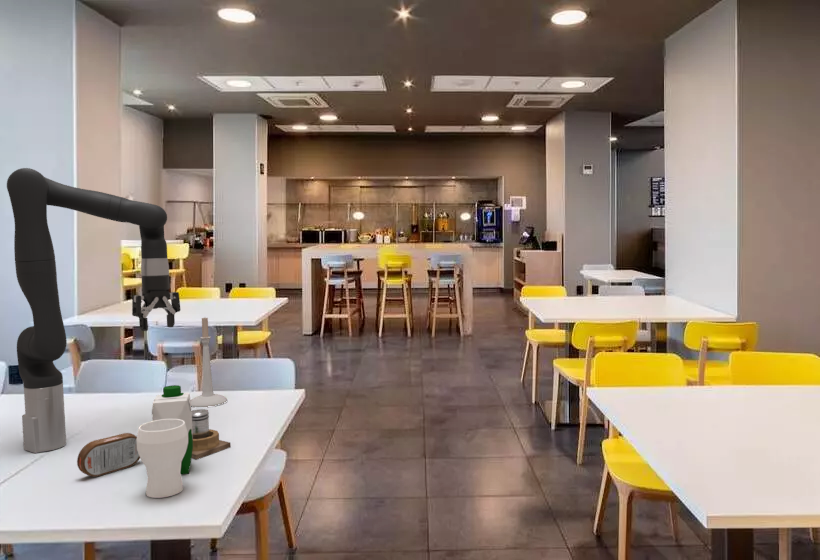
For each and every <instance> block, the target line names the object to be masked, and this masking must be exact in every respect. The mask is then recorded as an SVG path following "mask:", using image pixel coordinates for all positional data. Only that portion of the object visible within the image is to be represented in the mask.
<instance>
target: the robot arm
mask: <svg viewBox="0 0 820 560" xmlns="http://www.w3.org/2000/svg"><path fill="white" fill-rule="evenodd" d="M6 180H7V181H6V189H7V193H8V197H9V200H10V204H11V209H12V213H13V220H14V236H13V237H14V244H13V245H14V265H15V273H16V279H17V283H18V286H19V288H20V289H21V292H22V294H23V295H24V297H25V299H26V301H27V302H28V304H29V307H30V310H31V314H32V320H33V321H32V322H33V323H32V324H33V325H32V326H28V327H26V328H24V329H23V330H22V331H21V332H20V333H19V334H18V335H19V336H17V337H18V338H17V340H16V356H17V365H18V372H19V373H18V374H19V376H20V378H21V380H22V384H23V394H24V395H23V396H24V397H23V399H24V400H23V401H24V414H22V416H21V421H22V439H23V450H25V451H27V452H30V453H34V454H36V453H43V452H50V451H53V450H57V449H60V448H63V447H65V446H66V445H67V434H66V431H67V430H66V415H65V397H64V378H63V373H62V372H61V371H60V370H59V369H58V368H57V367H56V366H55V364H54V361H57V360H59V359H60V358H62V356H63V355H64V354H65V351H66V349H67V342H68V341H67V334H66V330H65V325H64V322H63V321H64V320H63V316H62V311H61V304H60V295H59V289H58V288H59V287H58V276H57V275H58V274H57V265H56V263H57V261H56V255H55V249H54V245H53V239H52V236H51V233H50V229H49V225H48V214H47V212H48V211H47V209H48V207H47V206H53V207H58V208H63V209H67V210H68V209H69V210H72V211H73V210H74V211H75V212H80V213H83V214H86V215H90V216H94V217H97V218H100V219H106V220H110V221H114V222H119V223H128V224H132V225H137V226H138V227H139V232H140V234H139V235H140V240H141V242H140V243H141V245H140V249H141V250H140V253H141V263H140V270H141V271H140V273H141V289H142V295H135V294H134V295H132V302H131V303H132V304H131V306H132V309H131V315H132V317H137V318H139V319H138V320H139V329H140V330H141V331H142V332H147V331H148V330H149V324H148V323H149V321H148V315H149V314H150V312H152V310H156V309H163V310H164V311H165V312H166V313H167V314H166V326H167V327H168V328H174V326H175V323H176V322H175V314H176V313H178V312H180V311H181V302H180V293H179V292H178V291H171V292H170V289H171V287H170V286H171V285H170V282H171V281H170V265H169V259H168V245H167V240H166V238H165V225H166V223H167V221H168V214H167V212H166V210H165V209H164V208H163V207H162V206H160V205H156V204H152V203H149V202H143V201H139V200H131V199H128V198H127V197H121V196H119V195H115V194H111V193H107V192H103V191H98V190H91V189H85V188H80V187H74V186H70V185H67V184H63V183H60V182H57V181H55V180H53V179H49V178H47V177H46V176H44V175H43V174H42V173H41V172H39V171H37V170H35V169H33V168H30V167H22V168H18V169H16V170H14V171H13V172H12V173H11V174H10V175H9V176H8V178H7V179H6ZM169 300H170V301H171V302H170V301H169ZM142 303H143V304H142Z"/></svg>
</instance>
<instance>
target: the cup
mask: <svg viewBox="0 0 820 560" xmlns="http://www.w3.org/2000/svg"><path fill="white" fill-rule="evenodd" d="M136 437H137V439H136V441H137V451H138V454H139V456H140V459H139V460H140V461H141V462H142V464H143V466H144V467H145V471H146V474H147V482H146V490H145V495H146V496H147V497H148V498H152V499H161V498H167V497H171V496H174V495H175V496H176V495H177V494H180V493H181V492H182V491H183V490H184V482H183V479H182V474H181V473H180V472H181V461H182V459H183V457H184V455H185V453H186V450H187V446H188V432H187V428H186V425H185V422H184V421H183V420H180V419H161V420H155V421H153V420H152V421H147V422H144V423H142V424H141V425H140V426H138V430H137V436H136Z"/></svg>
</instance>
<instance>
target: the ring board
mask: <svg viewBox="0 0 820 560" xmlns="http://www.w3.org/2000/svg"><path fill="white" fill-rule="evenodd" d="M231 446H232V445H231V442H229V441H225V440H222V439H220V433H219V432H218V430H215V429H211V428H209V437H207V438H202V439H193V451H192V459H193V460H199V458H200V459H202V458H205V457H207V456H210V455H213V454H215V453H219V452H220V451H224V450H226V449H229V448H231ZM192 459H191V460H192Z"/></svg>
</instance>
